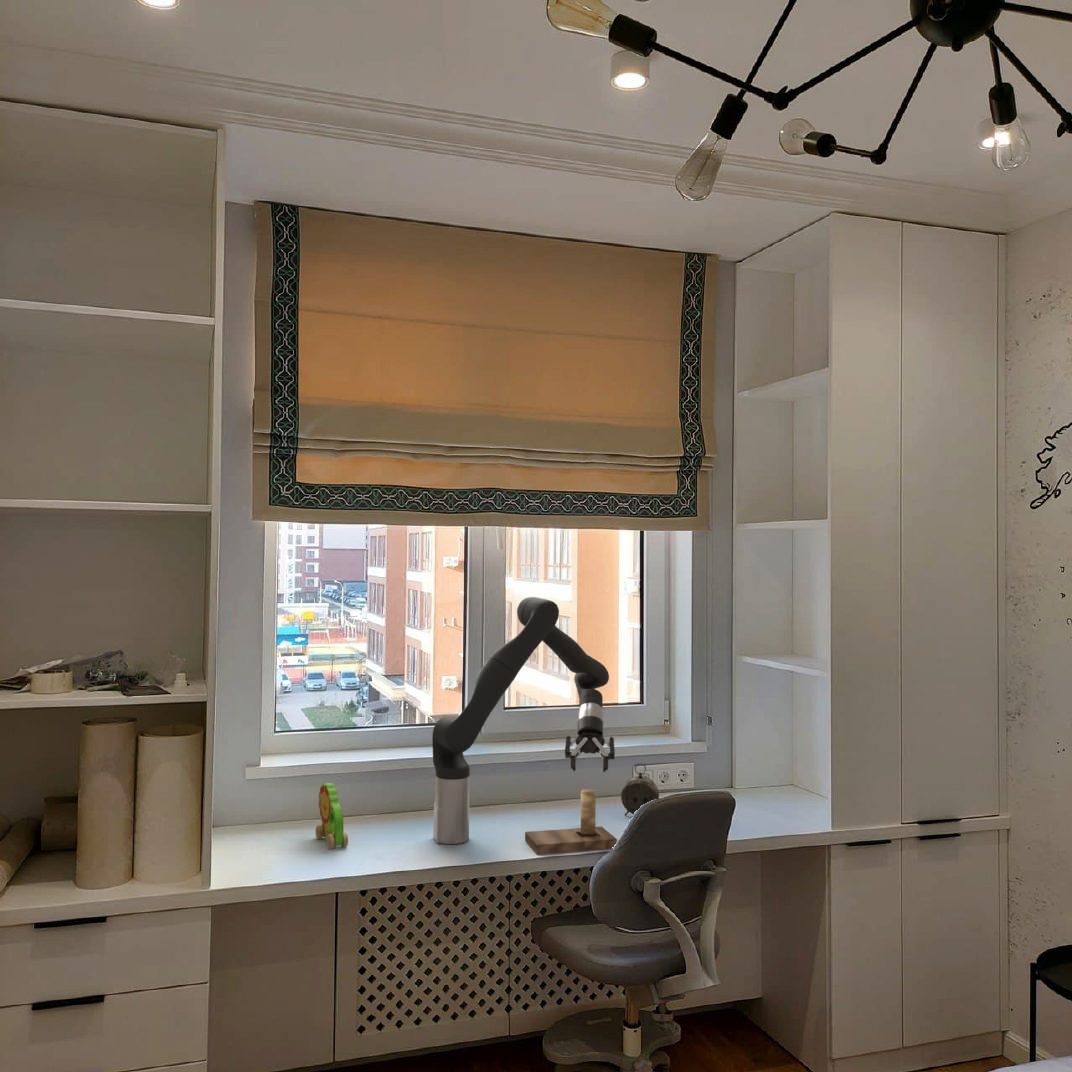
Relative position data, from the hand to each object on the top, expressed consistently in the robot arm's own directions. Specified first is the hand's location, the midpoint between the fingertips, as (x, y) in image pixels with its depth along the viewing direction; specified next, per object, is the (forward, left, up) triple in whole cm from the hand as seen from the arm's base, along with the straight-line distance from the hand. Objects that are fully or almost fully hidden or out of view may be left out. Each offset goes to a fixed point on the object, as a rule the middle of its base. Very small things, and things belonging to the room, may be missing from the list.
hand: (589, 770), depth 265 cm
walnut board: (-9, -11, -17) cm, 22 cm away
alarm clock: (+19, +9, -17) cm, 28 cm away
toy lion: (-71, +7, -17) cm, 73 cm away
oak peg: (-4, -10, -17) cm, 20 cm away
